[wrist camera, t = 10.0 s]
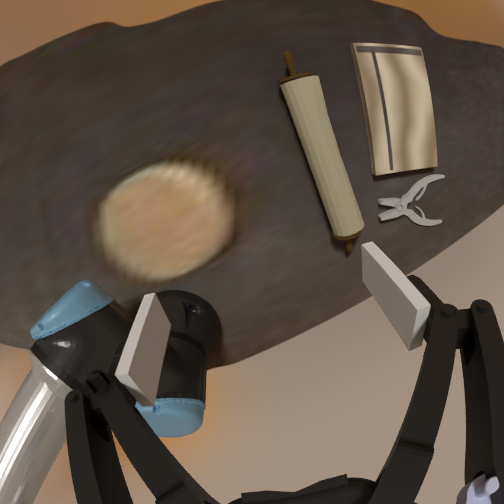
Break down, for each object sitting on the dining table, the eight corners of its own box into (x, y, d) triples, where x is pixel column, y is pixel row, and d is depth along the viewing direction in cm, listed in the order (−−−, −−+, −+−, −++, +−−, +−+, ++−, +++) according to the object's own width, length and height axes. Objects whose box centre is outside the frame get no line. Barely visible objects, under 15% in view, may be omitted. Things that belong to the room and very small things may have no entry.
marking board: (371, 173, 41) (376, 175, 39) (349, 45, 31) (353, 42, 30) (432, 164, 40) (437, 166, 39) (416, 48, 30) (421, 47, 29)
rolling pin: (264, 61, 32) (268, 53, 28) (300, 51, 32) (309, 43, 27) (331, 251, 47) (340, 265, 42) (360, 239, 46) (372, 253, 42)
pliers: (444, 225, 44) (380, 238, 45) (439, 222, 46) (376, 234, 46) (447, 175, 40) (380, 182, 40) (442, 173, 41) (376, 179, 41)
